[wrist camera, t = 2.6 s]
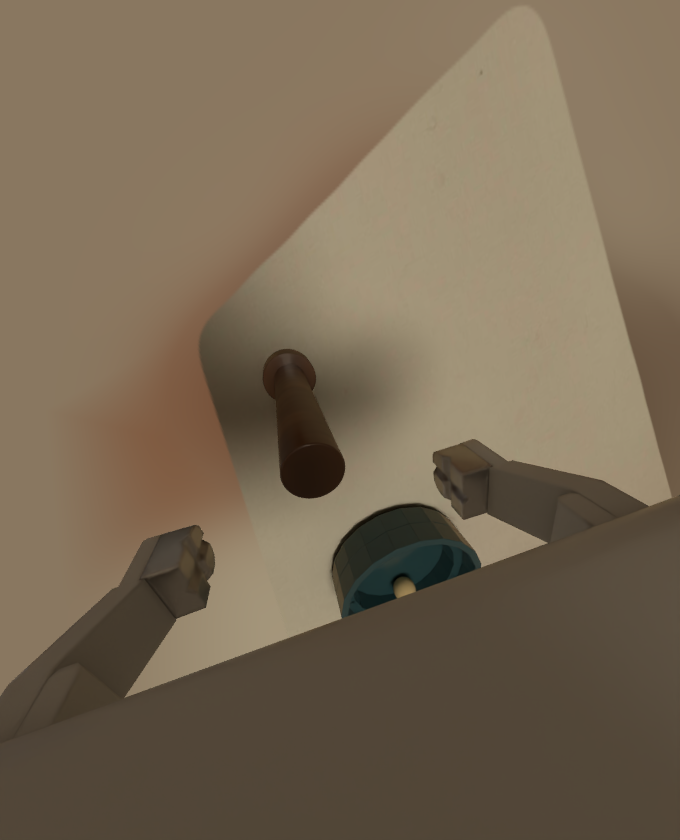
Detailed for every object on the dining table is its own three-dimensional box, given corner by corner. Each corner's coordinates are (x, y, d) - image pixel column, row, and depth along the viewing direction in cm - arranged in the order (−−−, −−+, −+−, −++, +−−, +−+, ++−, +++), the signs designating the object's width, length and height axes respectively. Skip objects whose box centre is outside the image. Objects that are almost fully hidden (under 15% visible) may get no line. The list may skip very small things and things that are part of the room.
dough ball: (391, 589, 40) (399, 610, 37) (388, 576, 39) (397, 596, 36) (410, 582, 40) (420, 602, 38) (408, 568, 39) (419, 588, 36)
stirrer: (271, 402, 26) (275, 529, 12) (256, 355, 24) (238, 441, 10) (317, 389, 27) (373, 497, 12) (305, 343, 25) (357, 407, 10)
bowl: (345, 614, 41) (356, 662, 36) (317, 530, 33) (327, 574, 28) (453, 573, 43) (479, 612, 38) (450, 485, 36) (483, 519, 30)
